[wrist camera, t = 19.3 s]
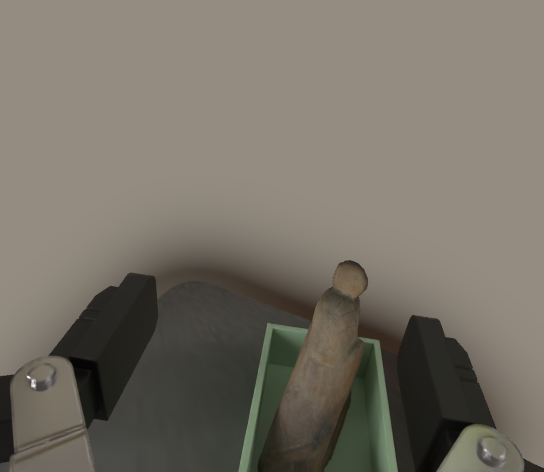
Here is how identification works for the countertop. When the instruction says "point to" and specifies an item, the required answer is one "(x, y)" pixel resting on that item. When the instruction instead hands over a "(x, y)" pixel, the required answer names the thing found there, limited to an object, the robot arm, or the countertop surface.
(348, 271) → the worn brown figurine
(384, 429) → the bin
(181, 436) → the countertop surface
